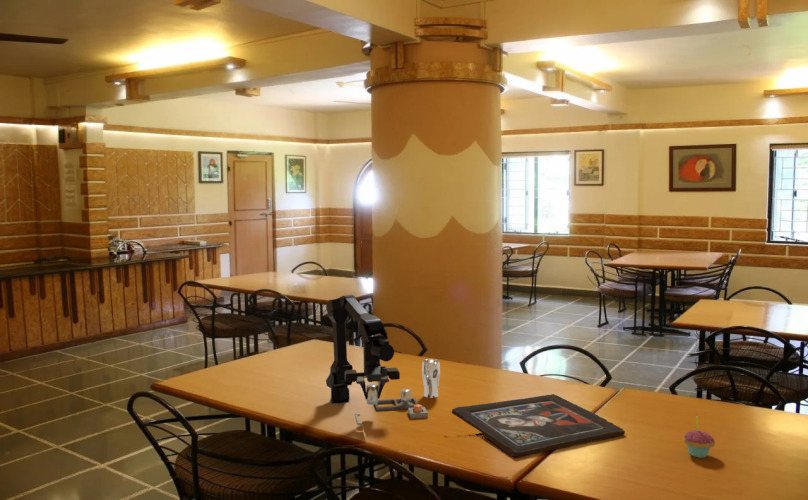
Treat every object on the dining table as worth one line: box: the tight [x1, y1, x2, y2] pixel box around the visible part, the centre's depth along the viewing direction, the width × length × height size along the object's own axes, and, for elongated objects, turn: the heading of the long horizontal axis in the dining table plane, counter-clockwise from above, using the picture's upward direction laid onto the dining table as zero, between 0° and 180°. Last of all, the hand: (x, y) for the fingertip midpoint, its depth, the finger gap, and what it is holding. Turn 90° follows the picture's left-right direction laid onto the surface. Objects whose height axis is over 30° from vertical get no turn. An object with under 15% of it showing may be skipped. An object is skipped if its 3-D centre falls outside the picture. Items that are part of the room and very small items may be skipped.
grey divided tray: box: [374, 397, 419, 412], centre depth 233 cm, size 15×8×3 cm, turn 99°
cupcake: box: [683, 413, 716, 459], centre depth 191 cm, size 9×8×12 cm
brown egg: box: [413, 403, 423, 412], centre depth 223 cm, size 3×3×4 cm
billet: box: [366, 383, 379, 406], centre depth 221 cm, size 4×4×6 cm
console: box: [407, 406, 429, 420], centre depth 223 cm, size 6×6×3 cm
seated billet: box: [400, 388, 412, 405], centre depth 233 cm, size 4×4×6 cm
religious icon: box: [451, 393, 626, 458], centre depth 217 cm, size 40×45×3 cm
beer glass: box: [421, 358, 441, 399], centre depth 244 cm, size 7×7×15 cm
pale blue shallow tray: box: [354, 413, 364, 425], centre depth 222 cm, size 11×9×1 cm
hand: (372, 398), depth 221 cm, fingers closed on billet, 4 cm apart
